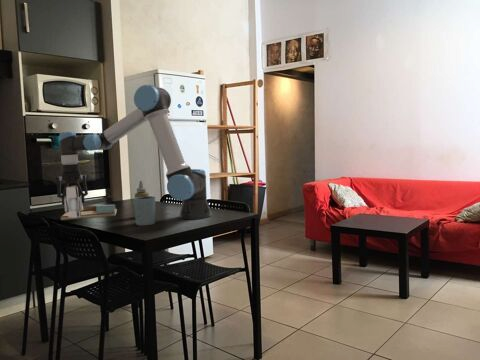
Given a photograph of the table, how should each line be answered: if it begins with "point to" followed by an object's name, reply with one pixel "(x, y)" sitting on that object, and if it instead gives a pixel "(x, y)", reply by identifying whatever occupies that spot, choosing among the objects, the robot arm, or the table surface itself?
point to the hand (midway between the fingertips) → (74, 210)
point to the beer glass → (73, 201)
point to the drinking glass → (144, 210)
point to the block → (105, 209)
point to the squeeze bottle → (141, 191)
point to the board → (89, 213)
